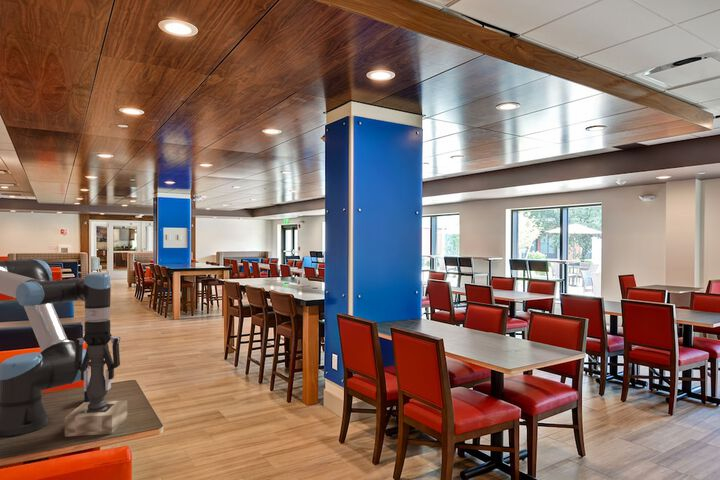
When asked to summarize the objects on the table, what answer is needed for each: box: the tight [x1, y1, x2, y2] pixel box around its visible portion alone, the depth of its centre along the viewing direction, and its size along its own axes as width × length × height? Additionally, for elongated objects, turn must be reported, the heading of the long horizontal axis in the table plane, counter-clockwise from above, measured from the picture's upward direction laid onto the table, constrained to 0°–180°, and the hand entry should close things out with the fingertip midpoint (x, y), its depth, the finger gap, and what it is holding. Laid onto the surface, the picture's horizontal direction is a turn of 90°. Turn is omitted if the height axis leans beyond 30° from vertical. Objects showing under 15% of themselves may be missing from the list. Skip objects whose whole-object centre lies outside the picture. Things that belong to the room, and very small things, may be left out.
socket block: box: [64, 399, 128, 437], centre depth 155 cm, size 14×14×6 cm
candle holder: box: [86, 344, 109, 413], centre depth 155 cm, size 6×6×25 cm
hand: (97, 389), depth 155 cm, fingers closed on candle holder, 6 cm apart
